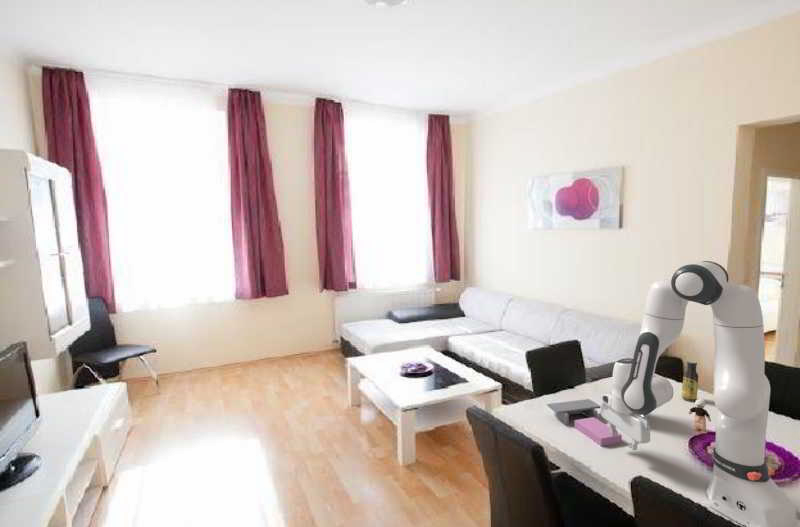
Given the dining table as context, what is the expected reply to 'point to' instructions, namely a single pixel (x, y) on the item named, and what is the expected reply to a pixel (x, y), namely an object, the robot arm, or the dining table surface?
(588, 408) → the bridge dock
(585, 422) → the pink rectangular block
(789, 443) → the dining table surface
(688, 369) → the sauce bottle
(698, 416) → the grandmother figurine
